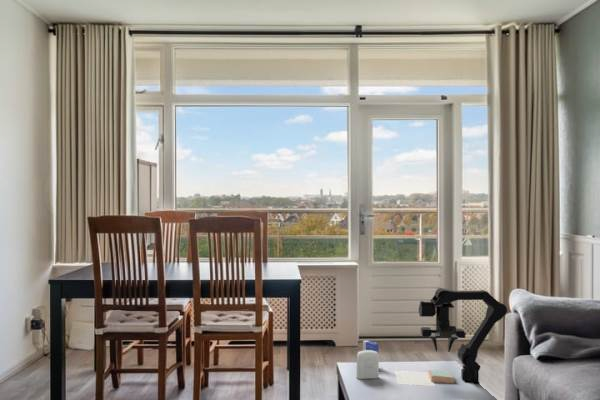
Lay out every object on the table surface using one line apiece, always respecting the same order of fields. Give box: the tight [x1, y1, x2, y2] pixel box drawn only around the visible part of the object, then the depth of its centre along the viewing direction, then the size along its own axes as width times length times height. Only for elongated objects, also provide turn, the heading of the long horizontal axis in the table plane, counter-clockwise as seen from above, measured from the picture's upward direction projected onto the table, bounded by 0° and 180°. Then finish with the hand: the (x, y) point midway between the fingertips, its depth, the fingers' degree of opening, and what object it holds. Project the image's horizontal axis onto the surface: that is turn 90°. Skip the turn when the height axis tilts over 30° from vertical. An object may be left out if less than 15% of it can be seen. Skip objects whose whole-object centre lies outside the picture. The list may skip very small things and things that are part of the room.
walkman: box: [362, 340, 379, 353], centre depth 217 cm, size 8×3×12 cm, turn 40°
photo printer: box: [356, 350, 380, 380], centre depth 203 cm, size 10×4×12 cm, turn 98°
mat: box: [394, 370, 436, 387], centre depth 201 cm, size 16×16×1 cm
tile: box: [428, 369, 455, 384], centre depth 200 cm, size 3×7×10 cm
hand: (442, 351), depth 200 cm, fingers open, 5 cm apart
